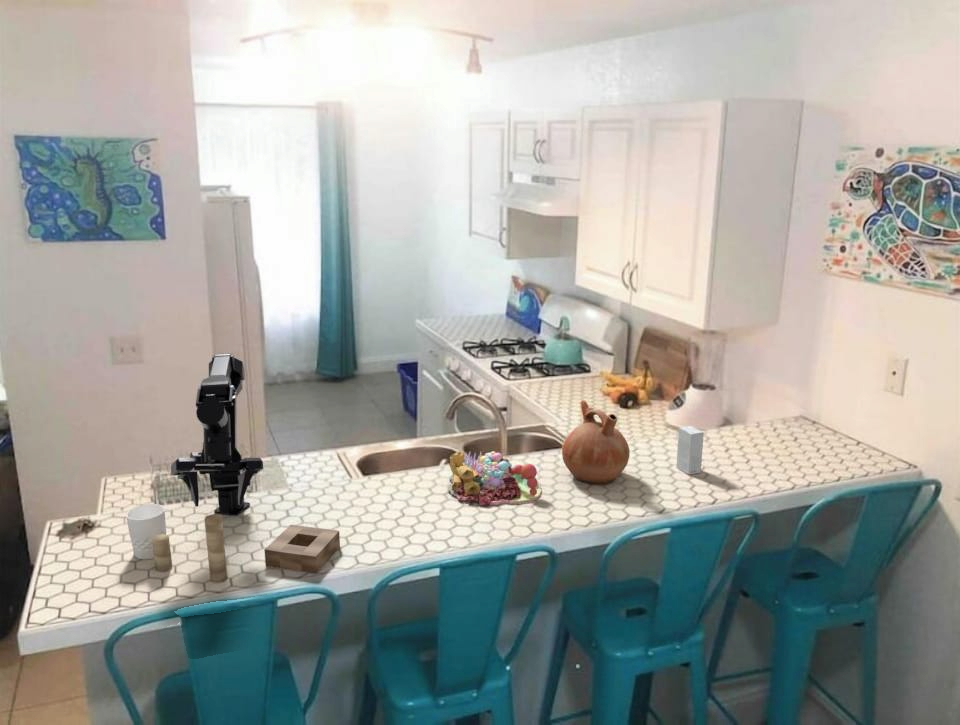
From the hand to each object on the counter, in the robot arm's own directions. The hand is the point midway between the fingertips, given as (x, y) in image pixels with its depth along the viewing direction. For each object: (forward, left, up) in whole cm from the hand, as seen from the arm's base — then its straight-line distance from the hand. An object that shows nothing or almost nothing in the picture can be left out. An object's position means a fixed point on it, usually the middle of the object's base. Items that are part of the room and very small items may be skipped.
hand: (218, 505), depth 174 cm
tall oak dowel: (+9, +4, -12) cm, 16 cm away
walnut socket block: (-4, +17, -12) cm, 22 cm away
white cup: (+3, -17, -12) cm, 21 cm away
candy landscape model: (-51, +49, -13) cm, 72 cm away
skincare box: (-75, +99, -12) cm, 125 cm away
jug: (-64, +74, -12) cm, 99 cm away
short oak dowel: (+8, -10, -12) cm, 17 cm away
